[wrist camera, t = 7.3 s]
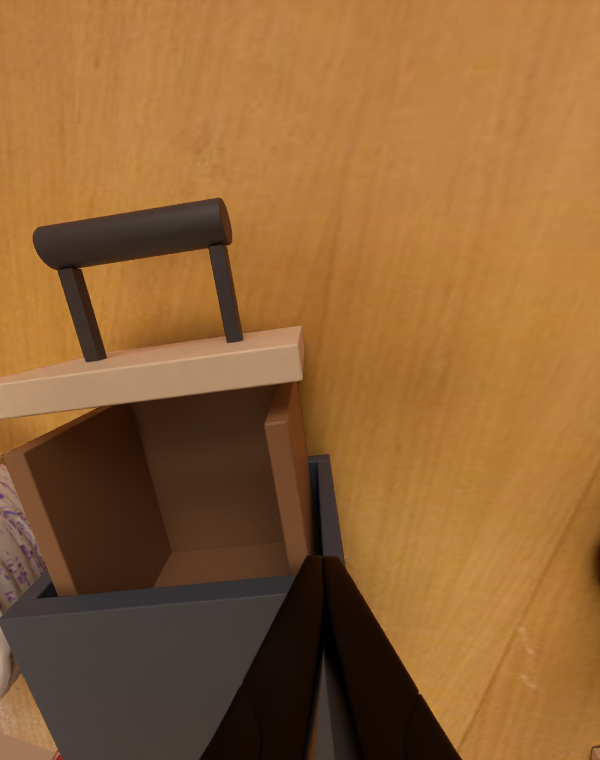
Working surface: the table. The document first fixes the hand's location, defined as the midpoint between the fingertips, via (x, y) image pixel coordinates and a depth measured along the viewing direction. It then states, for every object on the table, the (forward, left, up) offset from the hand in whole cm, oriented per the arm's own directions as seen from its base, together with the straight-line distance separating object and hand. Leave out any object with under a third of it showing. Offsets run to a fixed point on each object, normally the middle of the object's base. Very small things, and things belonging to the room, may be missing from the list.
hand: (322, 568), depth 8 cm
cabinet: (+6, +10, -11) cm, 16 cm away
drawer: (+6, -2, -10) cm, 12 cm away
